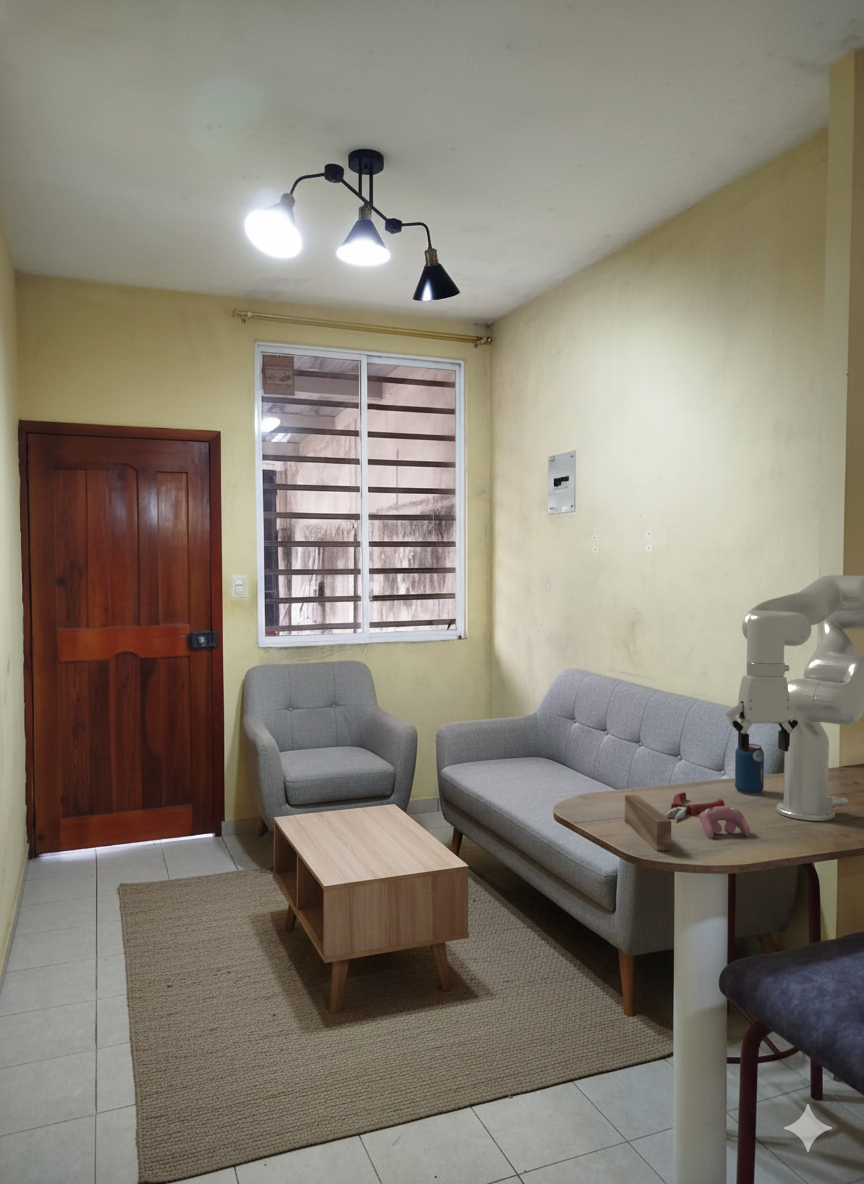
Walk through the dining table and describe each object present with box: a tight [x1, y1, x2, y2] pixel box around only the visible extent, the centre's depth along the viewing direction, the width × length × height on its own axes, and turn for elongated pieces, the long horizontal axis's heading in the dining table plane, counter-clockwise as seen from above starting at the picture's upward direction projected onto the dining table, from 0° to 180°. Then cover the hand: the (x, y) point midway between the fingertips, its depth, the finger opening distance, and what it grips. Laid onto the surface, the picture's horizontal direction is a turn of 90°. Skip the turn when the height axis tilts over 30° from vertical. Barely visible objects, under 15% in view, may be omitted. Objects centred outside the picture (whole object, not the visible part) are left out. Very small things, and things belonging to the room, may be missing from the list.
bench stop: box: [624, 794, 672, 852], centre depth 183 cm, size 3×20×6 cm, turn 6°
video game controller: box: [699, 805, 751, 840], centre depth 185 cm, size 10×5×7 cm, turn 98°
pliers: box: [663, 791, 725, 821], centre depth 202 cm, size 12×20×3 cm, turn 141°
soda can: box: [734, 743, 765, 796], centre depth 220 cm, size 7×7×12 cm
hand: (763, 750), depth 185 cm, fingers open, 8 cm apart
